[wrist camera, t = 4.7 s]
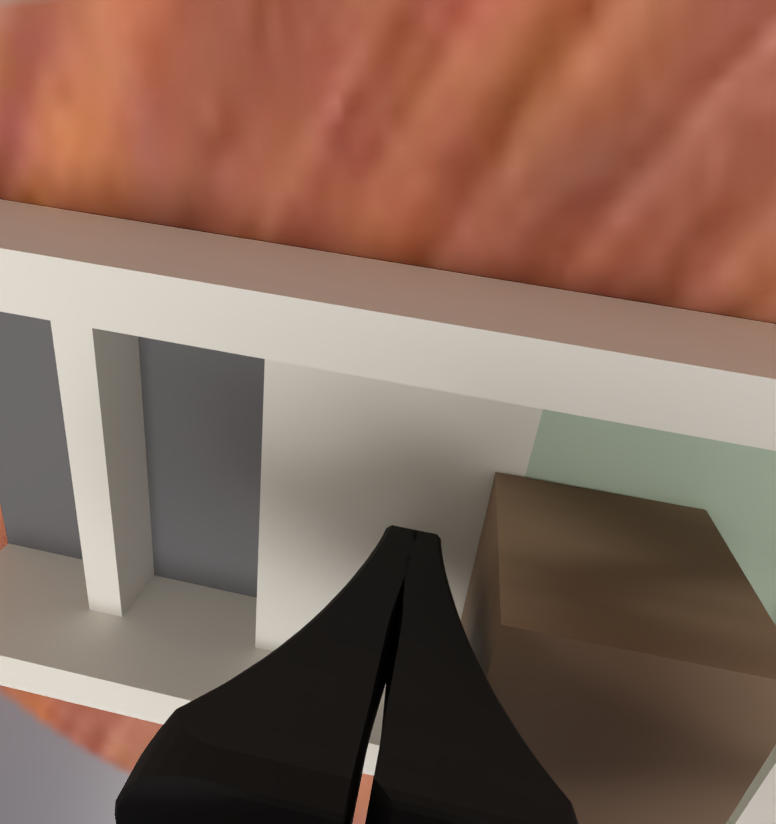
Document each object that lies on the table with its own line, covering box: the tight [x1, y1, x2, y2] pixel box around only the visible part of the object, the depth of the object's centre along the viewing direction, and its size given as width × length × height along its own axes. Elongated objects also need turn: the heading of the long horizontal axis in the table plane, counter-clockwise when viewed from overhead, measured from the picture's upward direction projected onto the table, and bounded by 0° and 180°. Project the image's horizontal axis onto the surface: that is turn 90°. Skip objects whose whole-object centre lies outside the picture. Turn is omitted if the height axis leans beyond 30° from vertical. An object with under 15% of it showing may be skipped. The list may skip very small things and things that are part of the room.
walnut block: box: [461, 472, 776, 824], centre depth 12 cm, size 4×4×4 cm
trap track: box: [0, 199, 776, 824], centre depth 14 cm, size 22×12×4 cm, turn 83°
